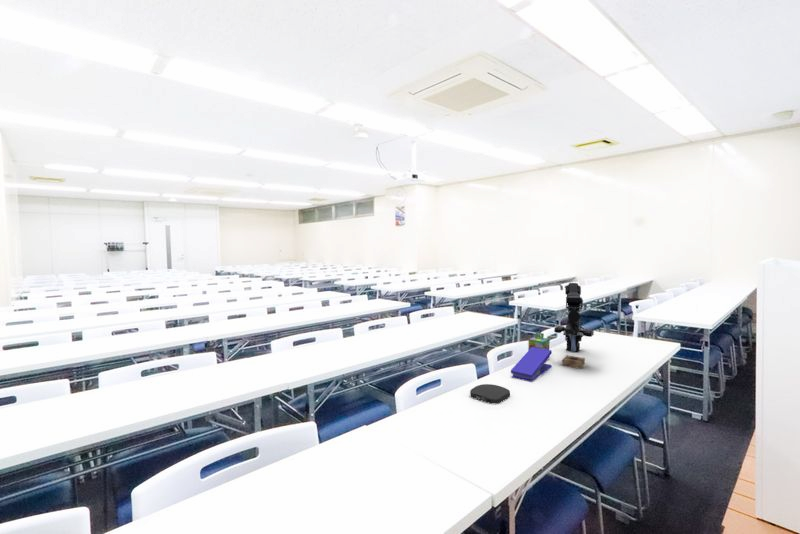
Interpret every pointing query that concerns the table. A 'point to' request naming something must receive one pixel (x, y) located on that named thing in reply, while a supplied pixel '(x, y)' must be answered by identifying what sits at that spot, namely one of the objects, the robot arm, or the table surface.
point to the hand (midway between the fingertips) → (573, 346)
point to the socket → (573, 361)
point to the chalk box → (539, 342)
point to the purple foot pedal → (532, 364)
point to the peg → (573, 343)
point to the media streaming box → (490, 393)
